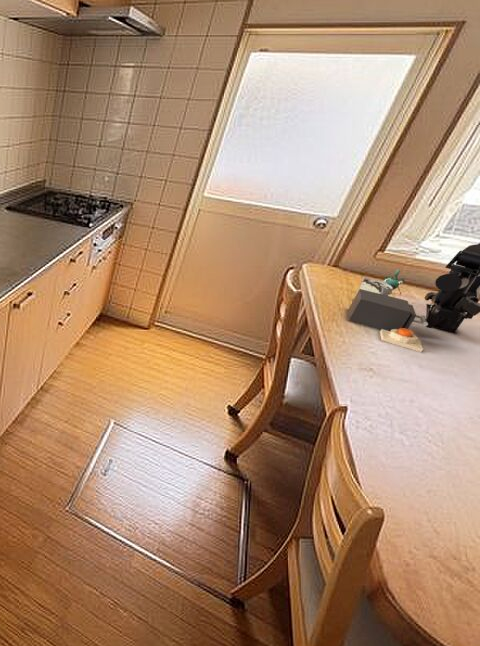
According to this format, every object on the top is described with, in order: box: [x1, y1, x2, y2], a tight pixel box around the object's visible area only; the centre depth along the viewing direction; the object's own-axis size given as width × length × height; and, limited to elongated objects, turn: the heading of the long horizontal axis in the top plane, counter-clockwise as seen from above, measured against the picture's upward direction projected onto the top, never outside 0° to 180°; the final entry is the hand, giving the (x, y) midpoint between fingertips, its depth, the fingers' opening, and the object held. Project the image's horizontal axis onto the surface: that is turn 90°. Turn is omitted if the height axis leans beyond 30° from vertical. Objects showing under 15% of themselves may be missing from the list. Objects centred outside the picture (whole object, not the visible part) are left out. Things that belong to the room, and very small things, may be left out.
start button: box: [397, 328, 415, 337], centre depth 140 cm, size 4×4×2 cm
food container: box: [355, 277, 393, 296], centre depth 164 cm, size 12×6×10 cm, turn 168°
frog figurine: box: [382, 269, 405, 295], centre depth 170 cm, size 10×18×15 cm, turn 146°
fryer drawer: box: [402, 303, 428, 330], centre depth 150 cm, size 17×11×7 cm
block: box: [379, 329, 424, 353], centre depth 141 cm, size 10×8×3 cm
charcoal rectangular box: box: [347, 288, 412, 331], centre depth 152 cm, size 14×13×9 cm
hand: (428, 327), depth 145 cm, fingers closed, pressing on fryer drawer
